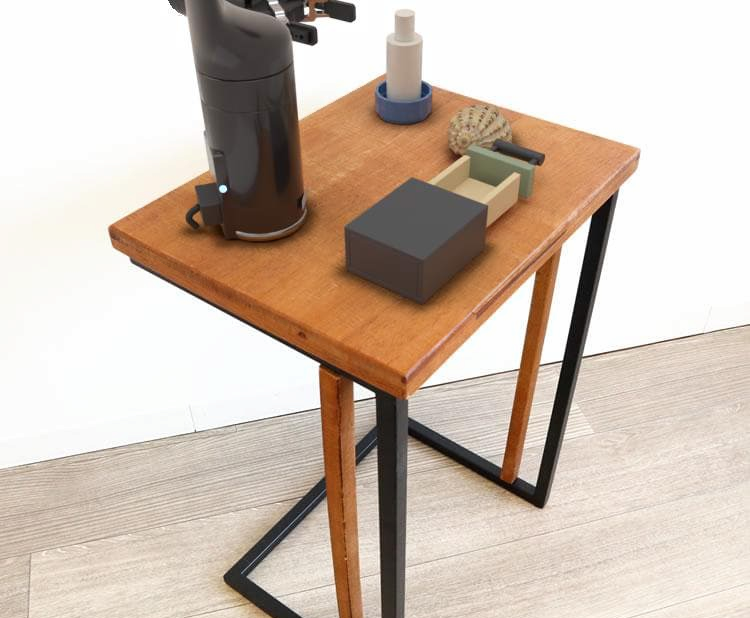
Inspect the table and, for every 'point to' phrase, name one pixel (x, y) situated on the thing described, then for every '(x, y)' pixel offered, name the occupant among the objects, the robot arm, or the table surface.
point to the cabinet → (415, 239)
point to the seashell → (477, 128)
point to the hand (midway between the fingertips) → (335, 25)
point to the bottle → (404, 59)
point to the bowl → (403, 105)
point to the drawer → (492, 176)
